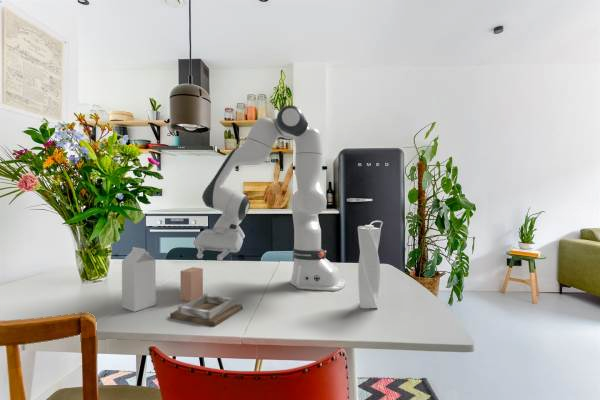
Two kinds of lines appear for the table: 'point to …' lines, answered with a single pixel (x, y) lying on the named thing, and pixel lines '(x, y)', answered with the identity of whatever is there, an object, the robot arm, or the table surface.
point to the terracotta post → (191, 283)
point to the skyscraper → (369, 265)
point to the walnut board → (207, 310)
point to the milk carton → (138, 280)
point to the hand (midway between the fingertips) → (208, 258)
